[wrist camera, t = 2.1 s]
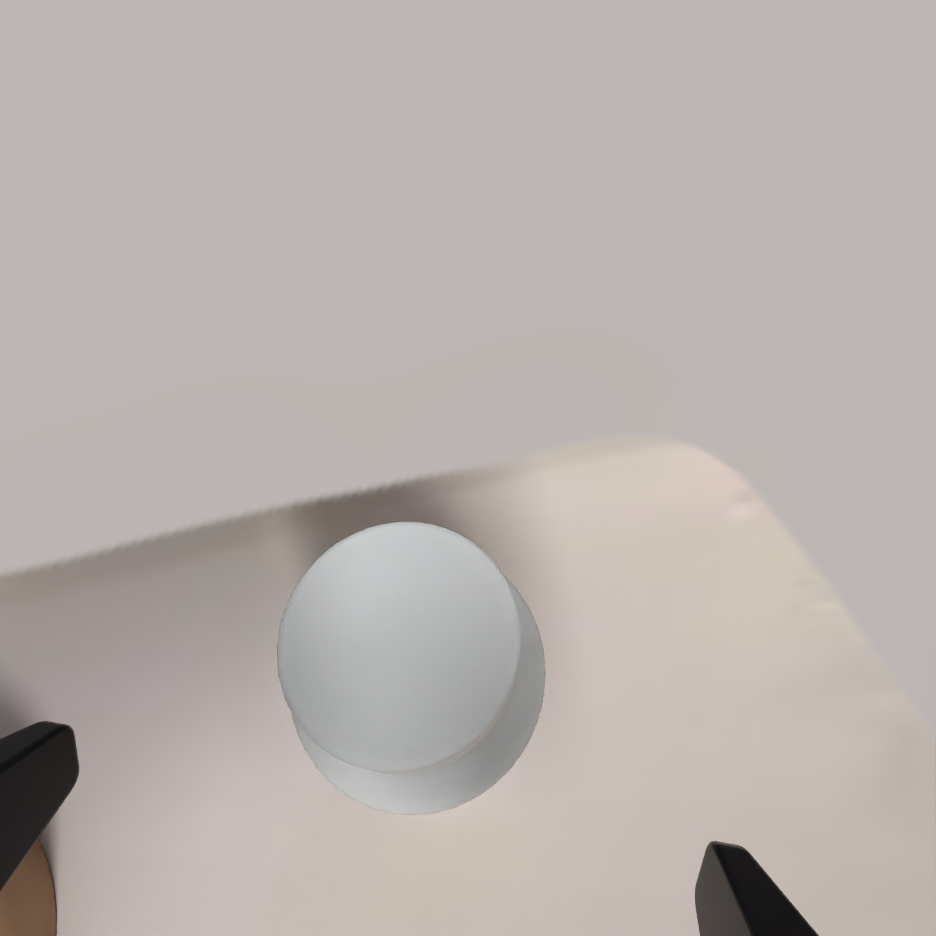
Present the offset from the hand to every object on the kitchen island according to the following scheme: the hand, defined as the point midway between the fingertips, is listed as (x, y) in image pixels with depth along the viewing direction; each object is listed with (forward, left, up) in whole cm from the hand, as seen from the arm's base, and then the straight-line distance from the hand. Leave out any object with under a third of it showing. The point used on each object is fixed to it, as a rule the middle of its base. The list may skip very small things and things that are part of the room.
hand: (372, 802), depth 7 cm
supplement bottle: (+2, 0, -10) cm, 10 cm away
